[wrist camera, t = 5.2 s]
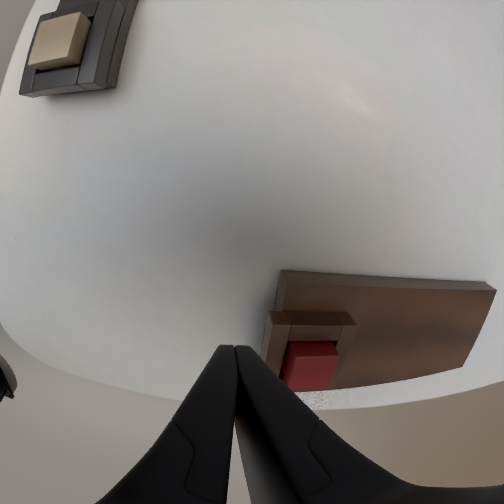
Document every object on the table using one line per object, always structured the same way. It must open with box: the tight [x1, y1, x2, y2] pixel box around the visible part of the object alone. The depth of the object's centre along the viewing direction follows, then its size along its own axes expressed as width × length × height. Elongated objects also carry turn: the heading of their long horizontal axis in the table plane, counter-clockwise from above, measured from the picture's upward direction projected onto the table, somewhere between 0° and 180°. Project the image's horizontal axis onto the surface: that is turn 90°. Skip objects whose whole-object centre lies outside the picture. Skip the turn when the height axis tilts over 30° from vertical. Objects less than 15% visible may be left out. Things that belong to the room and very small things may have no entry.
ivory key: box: [28, 12, 91, 71], centre depth 10 cm, size 3×3×2 cm
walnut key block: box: [260, 270, 497, 392], centre depth 22 cm, size 10×25×4 cm, turn 83°
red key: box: [282, 341, 340, 390], centre depth 18 cm, size 3×3×2 cm
